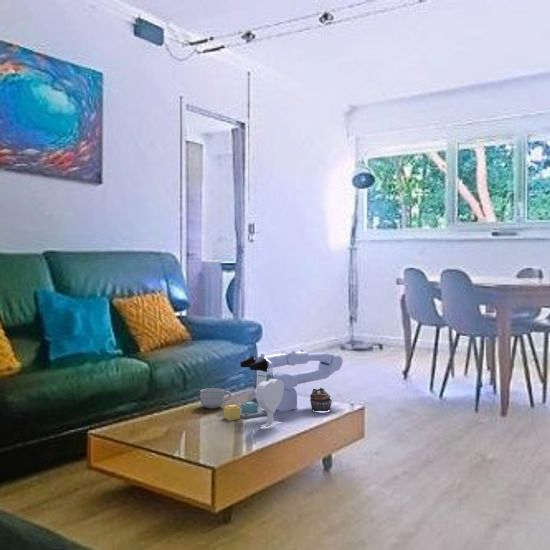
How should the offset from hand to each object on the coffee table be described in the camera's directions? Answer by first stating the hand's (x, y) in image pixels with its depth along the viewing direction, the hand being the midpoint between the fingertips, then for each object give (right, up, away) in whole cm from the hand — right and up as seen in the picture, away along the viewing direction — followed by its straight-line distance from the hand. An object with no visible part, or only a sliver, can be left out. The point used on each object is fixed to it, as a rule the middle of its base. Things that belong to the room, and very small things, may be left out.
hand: (245, 366), depth 263 cm
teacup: (-14, -21, +14) cm, 29 cm away
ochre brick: (-5, -21, -4) cm, 22 cm away
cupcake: (+33, -21, +9) cm, 40 cm away
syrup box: (+8, -20, +35) cm, 41 cm away
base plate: (+2, -21, +3) cm, 21 cm away
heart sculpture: (+11, -22, -13) cm, 28 cm away
